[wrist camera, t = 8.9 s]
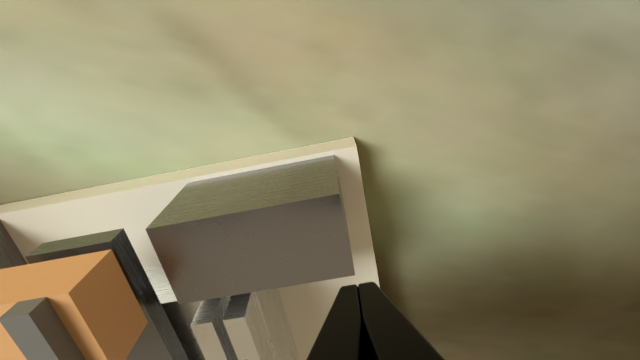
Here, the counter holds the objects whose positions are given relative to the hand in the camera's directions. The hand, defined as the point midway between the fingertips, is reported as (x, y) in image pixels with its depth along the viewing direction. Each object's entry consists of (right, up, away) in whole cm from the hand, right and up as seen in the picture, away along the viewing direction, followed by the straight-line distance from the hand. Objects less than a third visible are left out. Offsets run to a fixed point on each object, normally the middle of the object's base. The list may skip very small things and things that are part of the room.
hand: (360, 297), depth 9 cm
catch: (-10, -1, +3) cm, 11 cm away
